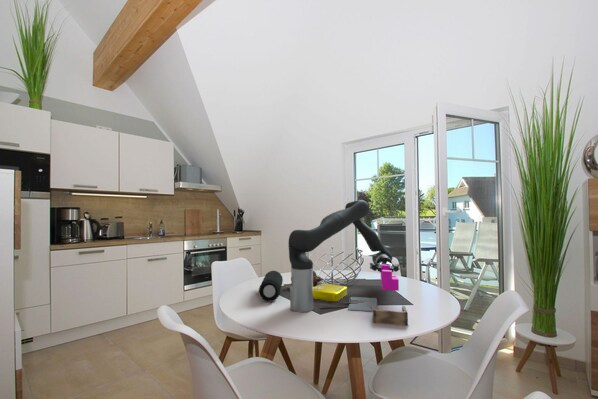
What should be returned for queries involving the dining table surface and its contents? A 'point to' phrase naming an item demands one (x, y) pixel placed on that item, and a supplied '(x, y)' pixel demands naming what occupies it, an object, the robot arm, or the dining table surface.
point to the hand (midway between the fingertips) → (385, 270)
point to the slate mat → (363, 304)
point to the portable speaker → (271, 286)
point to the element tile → (329, 292)
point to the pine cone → (316, 279)
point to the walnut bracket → (390, 316)
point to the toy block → (388, 279)
